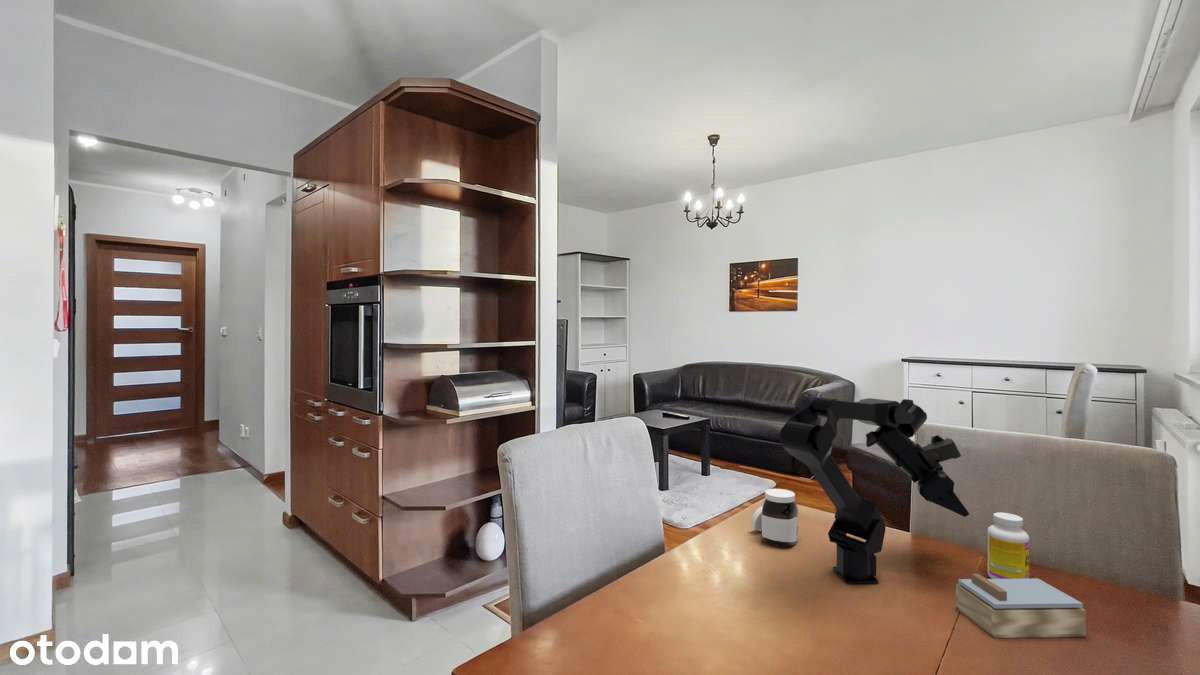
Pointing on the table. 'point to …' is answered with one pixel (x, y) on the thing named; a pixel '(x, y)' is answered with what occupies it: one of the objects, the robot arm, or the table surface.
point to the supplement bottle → (1008, 548)
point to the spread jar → (777, 518)
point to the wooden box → (1021, 618)
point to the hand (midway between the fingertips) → (962, 508)
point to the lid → (1018, 593)
